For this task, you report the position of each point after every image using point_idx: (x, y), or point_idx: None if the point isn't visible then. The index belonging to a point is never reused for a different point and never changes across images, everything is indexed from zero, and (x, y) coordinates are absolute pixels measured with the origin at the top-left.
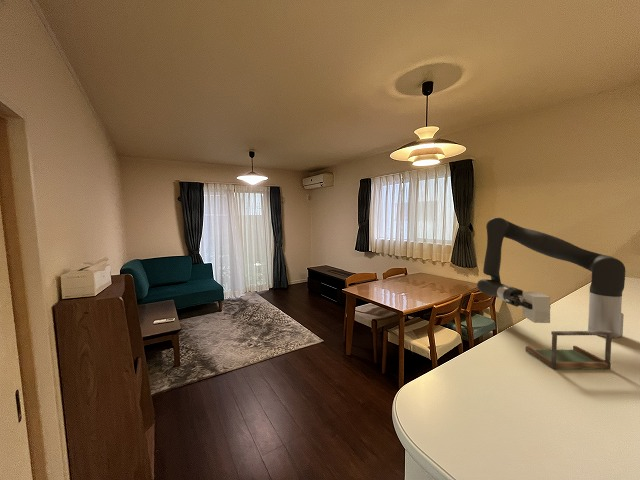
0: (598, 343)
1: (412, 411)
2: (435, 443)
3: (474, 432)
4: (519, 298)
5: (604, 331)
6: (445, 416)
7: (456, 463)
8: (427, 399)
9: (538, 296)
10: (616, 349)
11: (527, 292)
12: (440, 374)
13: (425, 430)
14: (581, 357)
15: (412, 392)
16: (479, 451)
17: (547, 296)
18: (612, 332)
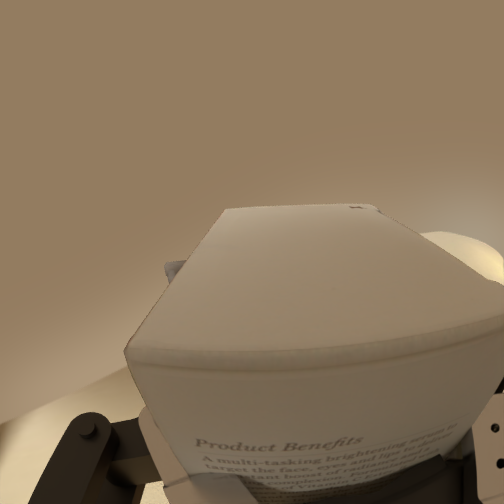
0: (41, 467)
1: (482, 247)
2: (455, 237)
3: (438, 244)
4: (501, 393)
5: (183, 262)
6: (461, 248)
7: (439, 233)
8: (482, 255)
9: (329, 205)
10: (44, 431)
11: (441, 269)
12: (498, 280)
13: (465, 240)
14: None
15: (497, 257)
16: (431, 238)
17: (237, 210)
18: (166, 263)
